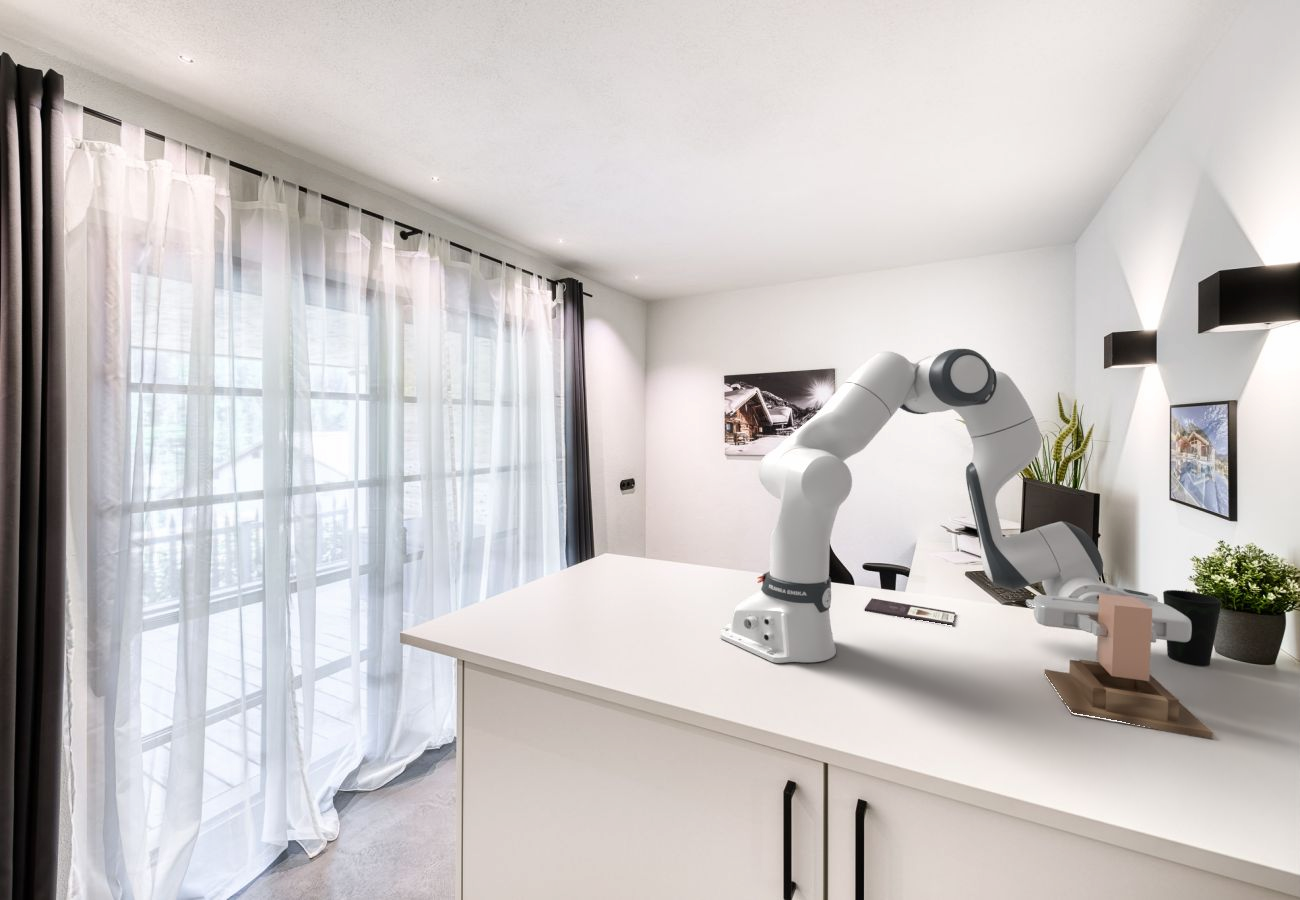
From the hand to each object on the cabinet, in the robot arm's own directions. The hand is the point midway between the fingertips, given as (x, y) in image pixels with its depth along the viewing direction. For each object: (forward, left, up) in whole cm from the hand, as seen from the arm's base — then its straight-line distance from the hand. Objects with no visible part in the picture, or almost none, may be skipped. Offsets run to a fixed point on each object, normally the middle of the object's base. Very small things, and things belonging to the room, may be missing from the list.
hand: (1125, 634), depth 83 cm
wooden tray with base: (0, +1, -11) cm, 11 cm away
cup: (+9, +31, -12) cm, 34 cm away
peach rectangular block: (0, +1, -6) cm, 6 cm away
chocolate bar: (-38, +22, -12) cm, 45 cm away
